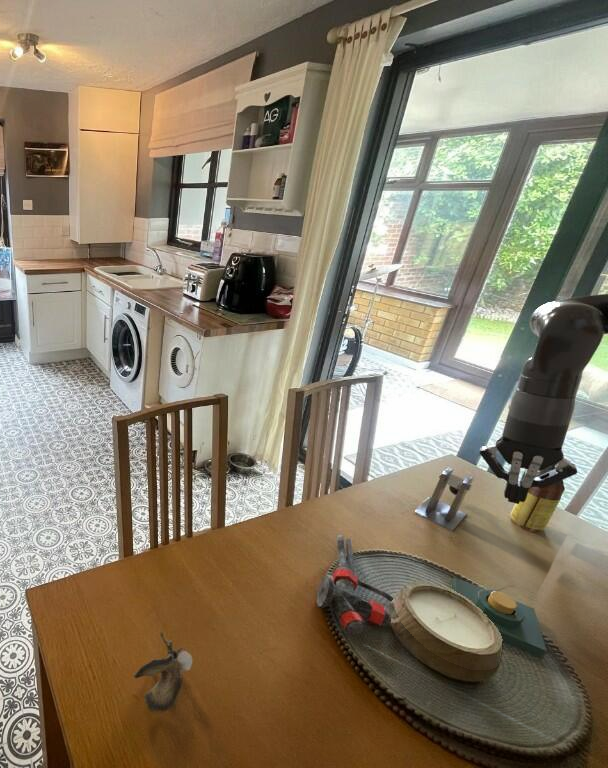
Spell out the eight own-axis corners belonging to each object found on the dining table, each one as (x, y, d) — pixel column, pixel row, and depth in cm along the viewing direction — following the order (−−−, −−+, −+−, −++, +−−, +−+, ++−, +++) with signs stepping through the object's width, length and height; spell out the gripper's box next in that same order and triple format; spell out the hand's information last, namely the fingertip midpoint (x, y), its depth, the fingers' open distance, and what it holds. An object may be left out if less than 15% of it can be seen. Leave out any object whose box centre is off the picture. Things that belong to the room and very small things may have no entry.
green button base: (528, 615, 79) (538, 601, 78) (541, 659, 72) (552, 644, 70) (450, 584, 86) (457, 571, 84) (454, 621, 78) (462, 607, 76)
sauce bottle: (544, 529, 100) (586, 462, 92) (537, 539, 97) (580, 471, 89) (509, 513, 105) (545, 448, 97) (501, 523, 102) (538, 457, 94)
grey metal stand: (428, 500, 109) (445, 460, 104) (465, 517, 104) (485, 476, 98) (412, 515, 104) (430, 474, 99) (450, 534, 98) (471, 492, 93)
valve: (405, 671, 71) (314, 626, 76) (384, 567, 93) (314, 537, 98) (424, 649, 69) (328, 604, 74) (397, 547, 90) (324, 517, 95)
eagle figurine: (146, 639, 73) (122, 677, 66) (172, 624, 70) (150, 663, 62) (176, 677, 71) (155, 722, 64) (204, 664, 68) (185, 709, 60)
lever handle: (446, 492, 109) (453, 480, 109) (463, 499, 107) (470, 487, 106) (441, 483, 100) (449, 470, 100) (460, 491, 97) (467, 477, 97)
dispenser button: (510, 603, 78) (514, 597, 77) (514, 618, 75) (518, 612, 74) (486, 594, 79) (489, 587, 79) (488, 608, 77) (492, 601, 76)
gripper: (486, 414, 74) (465, 497, 79) (599, 432, 65) (567, 524, 70) (487, 402, 79) (467, 481, 84) (592, 417, 70) (563, 505, 75)
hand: (513, 501), depth 77 cm, fingers closed
